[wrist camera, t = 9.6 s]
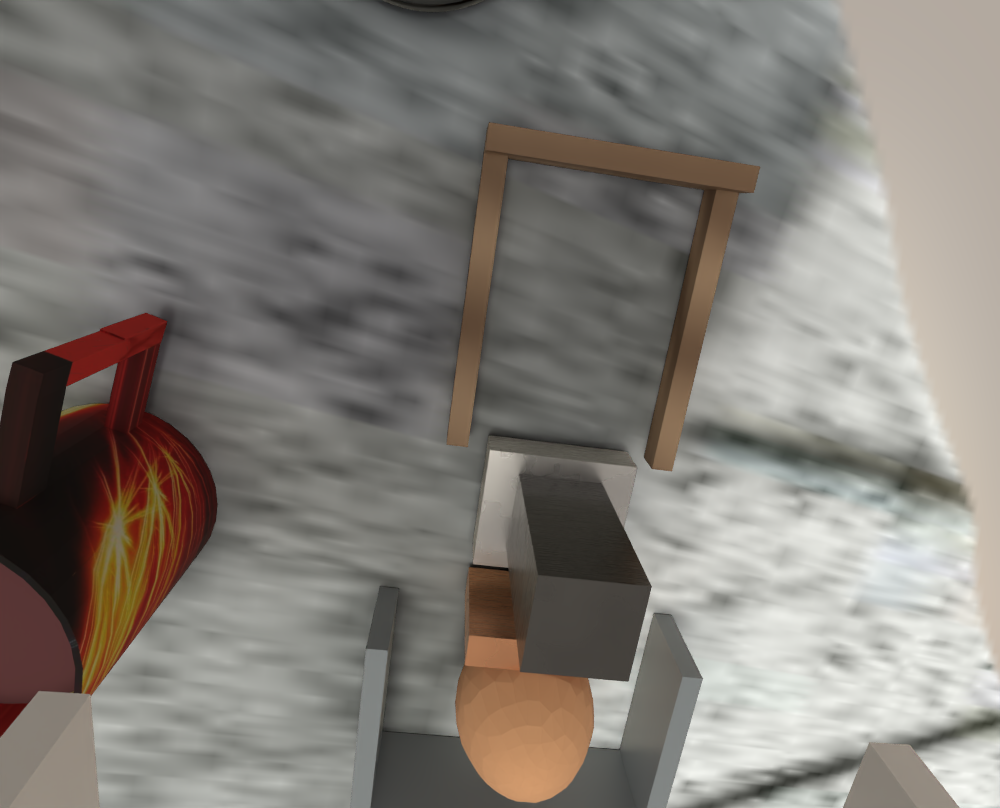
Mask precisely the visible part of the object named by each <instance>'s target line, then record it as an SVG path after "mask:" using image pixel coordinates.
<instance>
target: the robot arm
mask: <svg viewBox="0 0 1000 808" xmlns="http://www.w3.org/2000/svg"><path fill="white" fill-rule="evenodd" d="M0 808H100V806H99V794H98V782H97V770H96V757H95V745H94V733H93V720H92V708H91V696H90V694H79V693H63V692H46V691H38V693H37V694H36V695H35V696H34V697H33V699H32V700H31V701H30V702H29V704H28V705H27V706H26V707H25V708H24V710H23V711H22V712H21V713H20V714H19V716H18V717H17V718H16V719H15V720H14V722H13V723H12V724H11V725H10V727H9V728H8V729H7V730H6V731H5V733H4V734H3V735H2V736H1V737H0ZM843 808H959V806H958V805H957V804H956V803H955V801H954V800H953V799H952V798H951V796H950V795H949V794H948V792H947V791H946V790H945V789H944V787H943V786H942V785H941V784H940V782H939V781H938V780H937V779H936V777H935V776H934V775H933V774H932V772H931V771H930V770H929V769H928V767H927V766H926V765H925V764H924V762H923V761H922V760H921V759H920V757H919V756H918V755H917V754H916V752H915V751H914V750H913V749H912V747H911V746H910V745H903V744H887V743H871V742H869V745H868V747H867V750H866V752H865V755H864V757H863V760H862V762H861V765H860V767H859V770H858V772H857V774H856V777H855V779H854V782H853V784H852V787H851V789H850V792H849V794H848V797H847V799H846V802H845V804H844V806H843Z"/></svg>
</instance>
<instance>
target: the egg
mask: <svg viewBox="0 0 1000 808" xmlns="http://www.w3.org/2000/svg"><path fill="white" fill-rule="evenodd" d="M455 706H456V722H457V727H458V732H459V736H460V740H461V744H462V746H463V748H464V750H465V752H466V754H467V756H468V758H469V760H470V761H471V763H472V765H473V766H474V768H475V769H476V771H477V773H478V774H479V775H480V777H481V778H482V779H483V780H484V781H485V782H486V784H487V785H489V786H490V787H491V788H493V789H494V790H495V791H496V792H498V793H499V794H501V795H503V796H505V797H506V798H508V799H511V800H514V801H518V802H531V803H537V802H540V801H544V800H547V799H550V798H552V797H554V796H555V795H557V794H558V793H560V792H561V791H562V790H564V789H565V788H566V787H567V786H568V785H569V784H570V783H571V782H572V780H573V779H574V777H575V776H576V774H577V772H578V771H579V769H580V767H581V766H582V764H583V762H584V759H585V757H586V754H587V751H588V748H589V744H590V741H591V738H592V733H593V729H594V709H593V698H592V693H591V689H590V685H589V680H588V678H582V677H571V676H560V675H548V674H537V673H525V672H520V670H509V669H498V668H487V667H475V666H465V664H464V667H463V669H462V672H461V675H460V677H459V680H458V686H457V694H456V701H455Z"/></svg>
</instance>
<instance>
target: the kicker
mask: <svg viewBox="0 0 1000 808" xmlns="http://www.w3.org/2000/svg"><path fill="white" fill-rule="evenodd" d="M636 471H637V466H636V465H635V463H634V462H633V460H632V458H631V457H630V455H629V454H628V452H624V451H616V450H608V449H599V448H591V447H583V446H574V445H566V444H558V443H550V442H541V441H533V440H525V439H516V438H508V437H500V436H491V435H489V436H488V443H487V450H486V456H485V463H484V470H483V476H482V483H481V490H480V496H479V503H478V510H477V517H476V523H475V530H474V537H473V543H472V544H473V564H477V565H487V566H497V567H506V568H508V569H509V571H503V570H493V569H483V568H473V567H469V570H468V577H467V584H466V590H465V666H475V667H487V668H498V669H509V670H520V672H525V673H537V674H548V675H560V676H571V677H582V678H594V679H605V680H617V681H629V677H630V673H631V669H632V665H633V660H634V656H635V652H636V648H637V644H638V640H639V636H640V632H641V628H642V624H643V620H644V616H645V612H646V607H647V603H648V599H649V595H650V591H651V587H652V586H651V584H650V582H649V580H648V578H647V576H646V574H645V572H644V570H643V568H642V565H641V563H640V561H639V559H638V557H637V555H636V553H635V551H634V549H633V547H632V545H631V542H630V540H629V538H628V536H627V534H626V532H625V530H624V525H625V520H626V516H627V511H628V507H629V503H630V498H631V494H632V489H633V485H634V480H635V476H636Z"/></svg>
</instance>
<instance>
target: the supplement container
mask: <svg viewBox="0 0 1000 808" xmlns="http://www.w3.org/2000/svg"><path fill="white" fill-rule="evenodd" d="M382 1H385V2H387V3H389V4H392V5H395V6H398V7H401V8H405V9H410V10H415V11H423V12H446V11H452V10H458V9H462V8H466V7H469V6H472V5H475V4H477V3H480V2H482V1H484V0H382Z"/></svg>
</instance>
